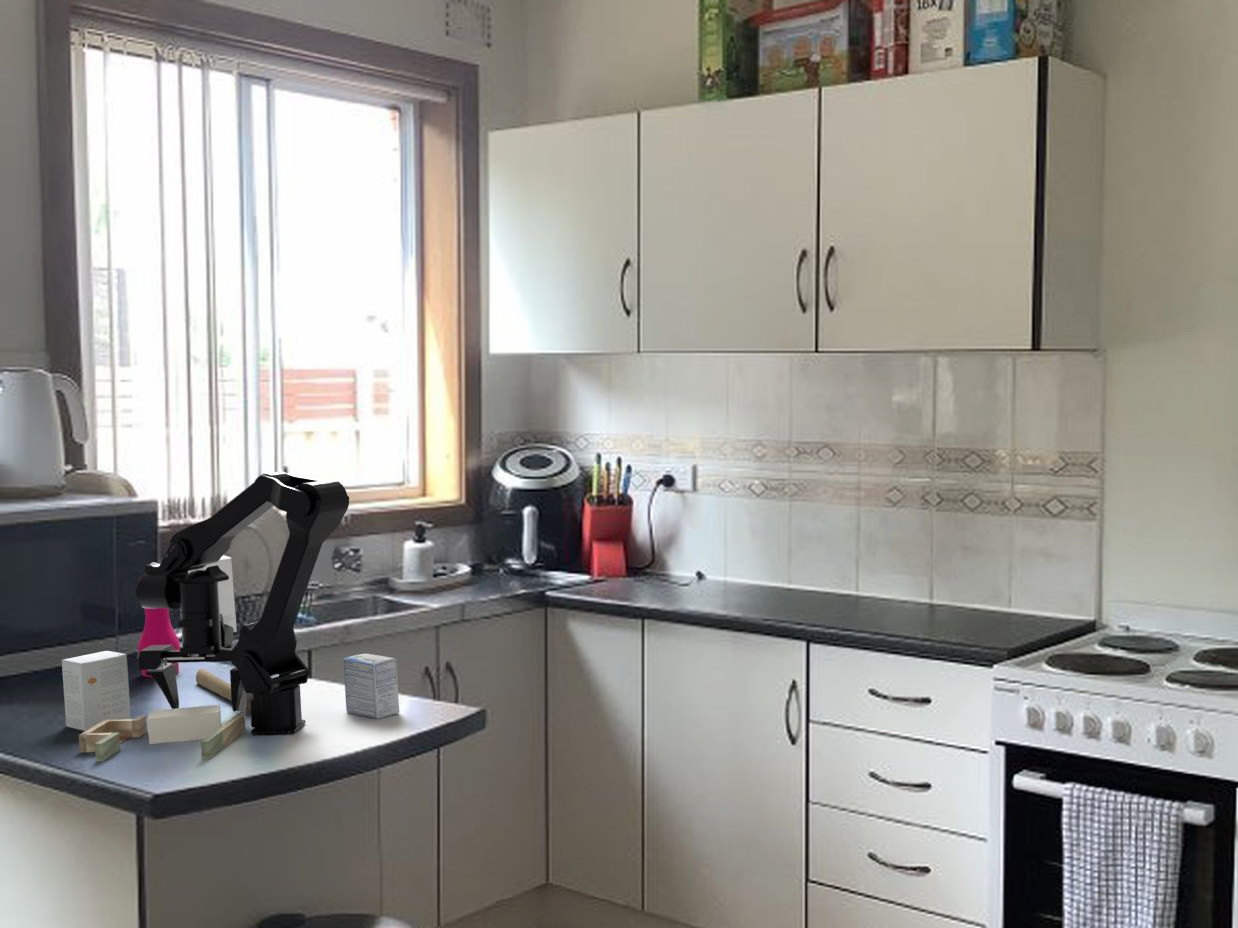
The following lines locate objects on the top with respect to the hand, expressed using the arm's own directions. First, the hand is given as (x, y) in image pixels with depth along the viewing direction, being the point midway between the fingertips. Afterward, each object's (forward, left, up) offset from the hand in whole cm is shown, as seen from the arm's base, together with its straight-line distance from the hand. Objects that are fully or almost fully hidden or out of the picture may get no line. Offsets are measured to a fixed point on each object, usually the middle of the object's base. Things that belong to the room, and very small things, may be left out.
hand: (205, 711), depth 227 cm
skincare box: (+25, -75, -2) cm, 79 cm away
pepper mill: (+21, -36, -2) cm, 42 cm away
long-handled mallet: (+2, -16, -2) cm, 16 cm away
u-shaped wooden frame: (+2, +14, -1) cm, 14 cm away
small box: (+17, 0, -2) cm, 17 cm away
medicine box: (-25, -3, -2) cm, 25 cm away
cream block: (0, +9, -2) cm, 9 cm away
